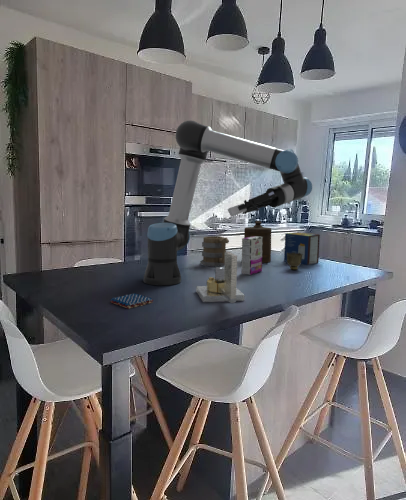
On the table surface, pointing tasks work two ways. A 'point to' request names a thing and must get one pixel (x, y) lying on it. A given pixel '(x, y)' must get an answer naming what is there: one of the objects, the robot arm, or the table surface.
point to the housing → (214, 296)
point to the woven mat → (131, 300)
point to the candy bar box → (252, 255)
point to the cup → (294, 260)
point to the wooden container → (266, 235)
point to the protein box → (303, 246)
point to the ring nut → (226, 279)
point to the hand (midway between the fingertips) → (230, 212)
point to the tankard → (214, 251)
